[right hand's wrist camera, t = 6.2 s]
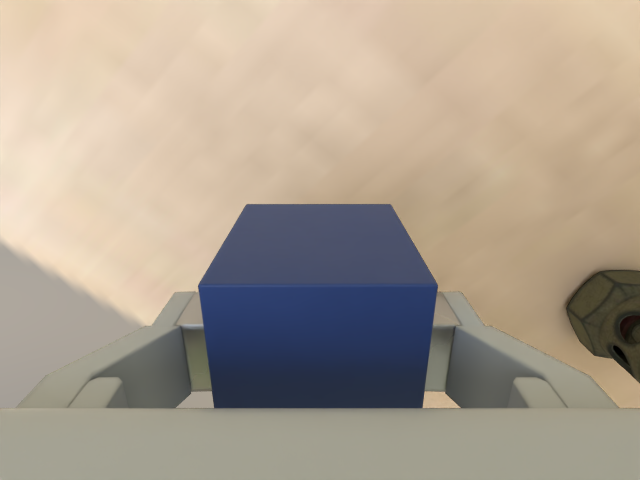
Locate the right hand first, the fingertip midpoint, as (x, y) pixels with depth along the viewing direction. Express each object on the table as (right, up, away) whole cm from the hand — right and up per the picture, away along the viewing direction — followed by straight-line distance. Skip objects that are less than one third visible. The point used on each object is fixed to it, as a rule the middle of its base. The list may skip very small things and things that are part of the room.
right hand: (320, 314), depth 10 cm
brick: (0, +1, +2) cm, 2 cm away
